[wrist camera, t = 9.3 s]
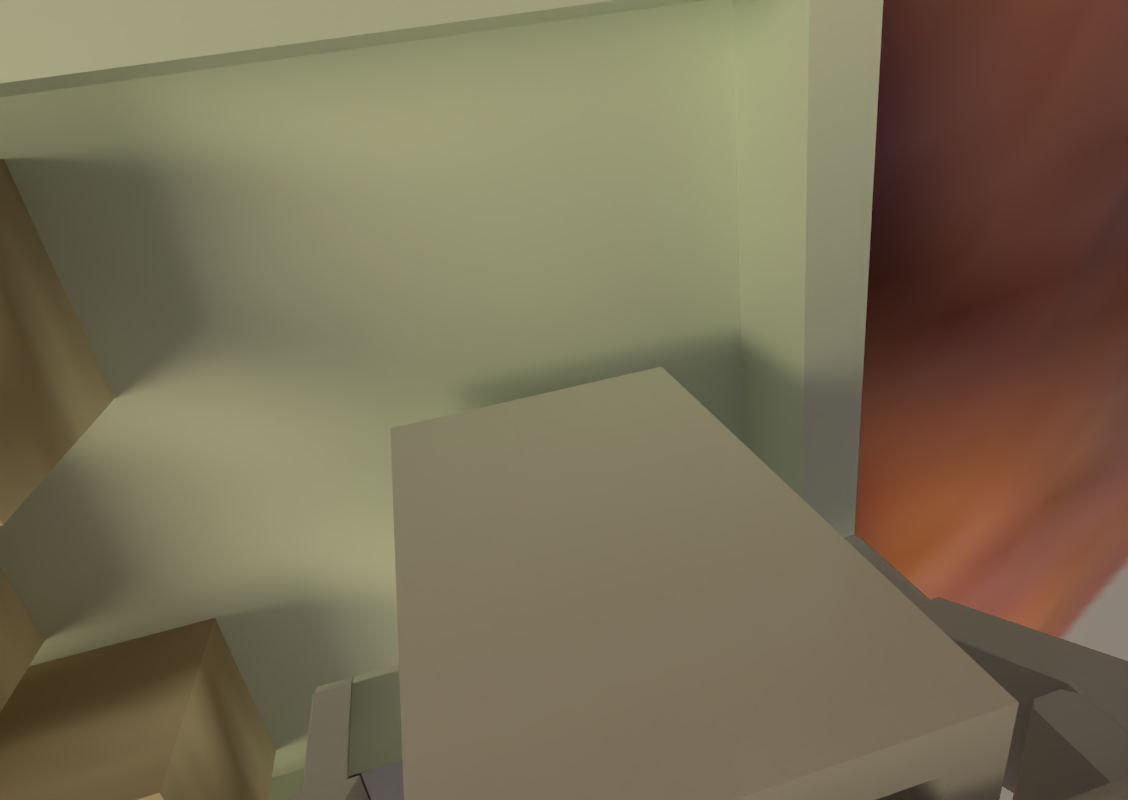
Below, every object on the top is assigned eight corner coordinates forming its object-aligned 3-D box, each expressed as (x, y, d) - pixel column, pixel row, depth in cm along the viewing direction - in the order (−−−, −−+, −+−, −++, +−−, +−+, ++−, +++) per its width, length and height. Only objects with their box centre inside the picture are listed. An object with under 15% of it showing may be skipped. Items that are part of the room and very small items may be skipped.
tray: (-776, 105, 9) (-1407, 109, 6) (761, -79, 13) (890, -140, 9) (-84, 881, 16) (-197, 1072, 13) (768, 625, 20) (843, 727, 17)
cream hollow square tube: (390, 428, 12) (406, 911, 5) (661, 366, 13) (1018, 702, 6) (449, 643, 14) (523, 1201, 7) (678, 579, 15) (954, 1018, 8)
